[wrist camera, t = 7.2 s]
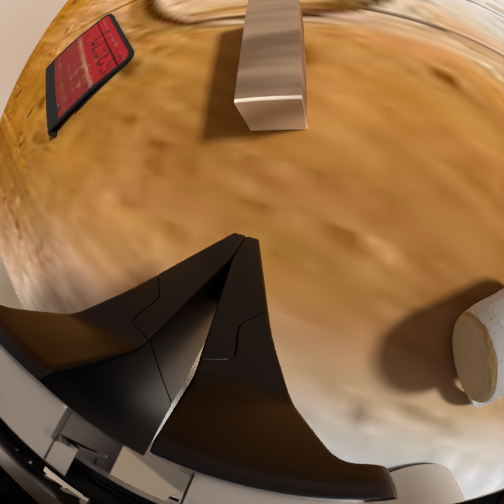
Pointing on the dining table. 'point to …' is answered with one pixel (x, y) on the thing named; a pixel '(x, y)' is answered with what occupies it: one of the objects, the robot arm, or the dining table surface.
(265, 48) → the walnut block
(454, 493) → the cylinder vase
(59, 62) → the binder
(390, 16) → the dining table surface
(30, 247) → the dining table surface
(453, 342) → the ceramic mug
